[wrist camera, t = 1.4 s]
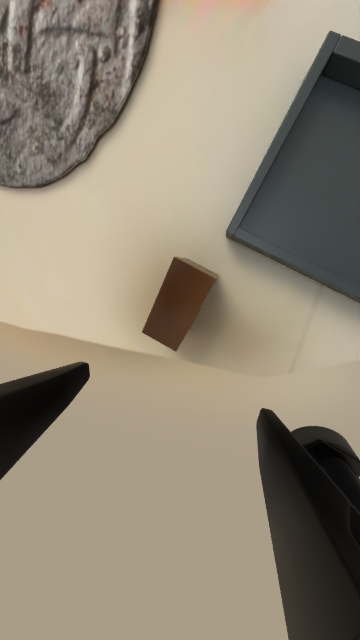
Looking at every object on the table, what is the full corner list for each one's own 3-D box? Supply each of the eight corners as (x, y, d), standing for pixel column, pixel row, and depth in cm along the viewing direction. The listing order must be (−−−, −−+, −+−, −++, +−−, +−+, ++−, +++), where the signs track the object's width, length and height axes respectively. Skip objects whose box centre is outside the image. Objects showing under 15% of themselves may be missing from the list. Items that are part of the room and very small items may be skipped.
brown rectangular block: (218, 275, 19) (216, 278, 14) (186, 333, 22) (175, 351, 17) (186, 258, 19) (174, 256, 15) (159, 318, 22) (141, 332, 18)
